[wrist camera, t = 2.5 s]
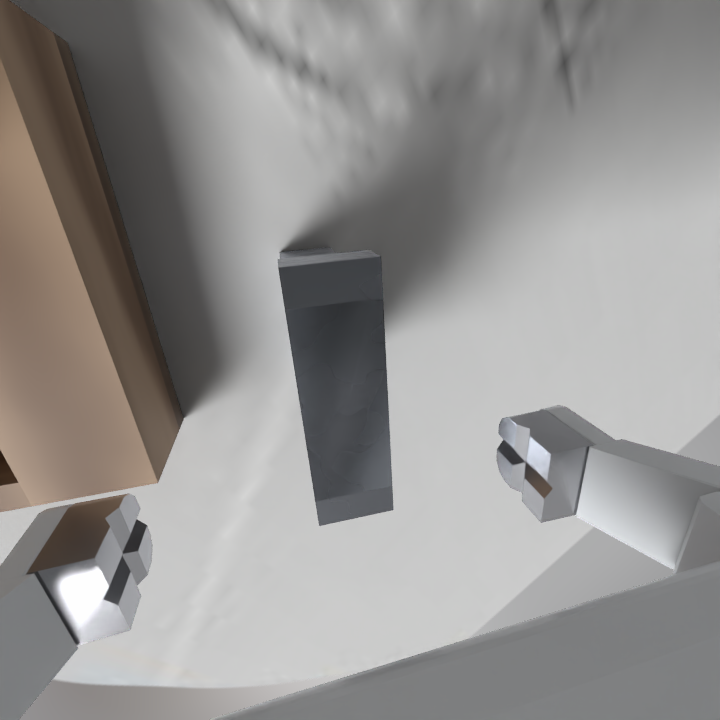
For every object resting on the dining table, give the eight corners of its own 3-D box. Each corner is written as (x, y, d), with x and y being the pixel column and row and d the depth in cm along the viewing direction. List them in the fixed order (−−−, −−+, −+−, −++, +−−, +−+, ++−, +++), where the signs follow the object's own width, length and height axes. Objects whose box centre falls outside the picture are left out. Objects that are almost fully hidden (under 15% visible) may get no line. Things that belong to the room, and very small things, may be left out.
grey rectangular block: (327, 225, 18) (380, 256, 9) (343, 376, 21) (393, 509, 12) (275, 229, 18) (278, 267, 9) (299, 383, 21) (319, 525, 12)
